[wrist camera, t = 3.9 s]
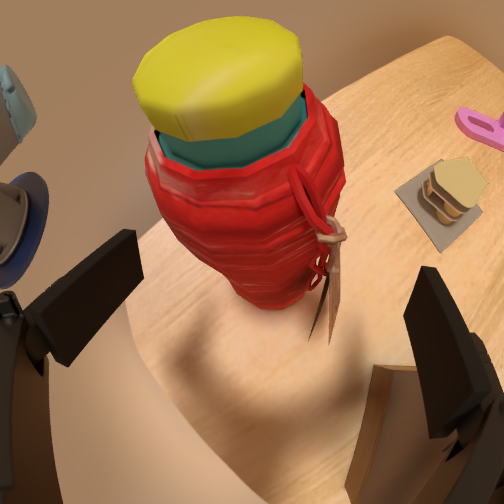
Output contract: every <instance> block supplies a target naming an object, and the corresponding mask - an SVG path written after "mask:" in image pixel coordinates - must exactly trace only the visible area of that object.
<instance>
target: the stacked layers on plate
mask: <svg viewBox="0 0 504 504" xmlns="http://www.w3.org/2000/svg"><path fill="white" fill-rule="evenodd" d="M488 184H489V183H488V181H487V180H486V179H485V177H484V176H483V175H482V173H481V172H480V171H479V170H478V168H477V167H476V166H475V165H474V163H473V162H472V161H471V160H470V159H469V157H463V158H458V159H452V160H447V161H443V160H442V159H440V160H439V161H438V162H436V163H435V164H433V165H432V166H430V167H429V168H427V169H426V170H424V171H423V172H421V173H420V174H419V175H417V176H416V177H414V178H413V179H411V180H410V181H408V182H407V183H405V184H404V185H402V186H401V187H399V188H398V189H396V190H395V193H396V194H397V195H398V196H399V197H400V199H401V200H402V201H403V202H404V204H405V205H406V206H407V208H408V209H409V210H410V212H411V213H412V214H413V215H414V217H415V218H416V219H417V221H418V222H419V223H420V225H421V226H422V228H423V229H424V230H425V232H426V233H427V235H428V236H429V237H430V239H431V240H432V242H433V243H434V245H435V246H436V248H437V249H438V251H439V252H440V253H441V252H442V251H444V250H445V249H446V248H447V247H448V246H449V245H450V244H451V243H452V242H453V241H454V240H455V239H457V238H458V237H459V236H460V235H461V234H462V233H463V232H464V231H465V230H466V229H467V228H468V227H469V226H470V225H471V224H472V223H473V222H474V221H475V220H476V219H477V218H478V217H479V216H480V215H481V214H482V213H483V211H482V210H481V209H480V207H479V206H478V204H477V202H478V200H479V198H480V197H481V195H482V194H483V192H484V191H485V189H486V187H487V186H488Z"/></svg>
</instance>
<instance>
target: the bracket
mask: <svg viewBox="0 0 504 504" xmlns="http://www.w3.org/2000/svg"><path fill="white" fill-rule="evenodd" d="M455 122H456V124H457V126H458V127H459V129H460V130H461V131H462V132H463V133H464V134H465V135H467V136H468V137H470V138H472V139H474V140H477V141H479V142H482V143H484V144H487V145H489V146H492V147H494V148H496V149H499V150H501V151H503V152H504V113H503V114H502V116H501V117H500V119H499V120H494V119H492V118H490V117H488V116H485V115H483V114H481V113H479V112H476V111H474V110H471V109H469V108H466V107H461V108H459V109H458V111H457V113H456V115H455ZM472 123H473V124H475V125H473V124H472ZM476 125H478V126H480V127H478V126H476ZM481 127H482V128H481ZM483 128H485V129H483ZM486 129H487V130H486Z"/></svg>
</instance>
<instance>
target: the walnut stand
mask: <svg viewBox="0 0 504 504" xmlns="http://www.w3.org/2000/svg"><path fill="white" fill-rule="evenodd" d="M456 437H458V434H457V429H455V430H454V431H453V432H452V433H451V434H450V435H449V436H448V437H446V438H437V439H429V434H428V426H427V420H426V413H425V407H424V402H423V396H422V391H421V386H420V381H419V376H418V371H417V367H416V366H391V365H374V367H373V373H372V379H371V384H370V390H369V395H368V400H367V405H366V409H365V414H364V418H363V422H362V426H361V431H360V434H359V438H358V442H357V446H356V449H355V453H354V457H353V460H352V463H351V467H350V470H349V473H348V476H347V479H346V482H345V488H346V491H347V493H348V496H349V499H350V502H351V504H411V503H412V502H413V501H414V499H415V498H416V497H417V495H418V494H419V493H420V491H421V490H422V489H423V487H424V486H425V485H426V483H427V482H428V480H429V479H430V477H431V476H432V475H433V473H434V472H435V470H436V469H437V467H438V465H439V464H440V462H441V461H442V459H443V458H444V456H445V454H446V453H447V451H448V450H446V451H445V452H444V453H443V452H442V450H443V449H444V448H445V447H446V446H447V445H449V444H450V443H451V442H452V441H453V440H454V439H455V438H456Z"/></svg>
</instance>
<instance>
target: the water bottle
mask: <svg viewBox="0 0 504 504" xmlns="http://www.w3.org/2000/svg"><path fill="white" fill-rule="evenodd" d="M132 86H133V88H134V91H135V93H136V96H137V98H138V101H139V103H140V105H141V107H142V109H143V110H144V112H145V114H146V115H147V117H148V118H149V120H150V122H151V123H152V126H151V129H150V133H149V144H148V148H147V152H146V156H145V173H146V176H147V179H148V182H149V185H150V187H151V190H152V192H153V195H154V198H155V200H156V203H157V205H158V208H159V211H160V213H161V215H162V217H163V218H164V220H165V221H166V223H167V224H168V226H169V227H170V229H171V230H172V232H173V233H174V235H175V236H176V238H177V239H178V240H179V241H180V242H181V243H182V244H183V245H184V246H185V247H186V248H187V249H188V250H189V251H190V252H191V253H192V254H193V255H195V256H196V257H197V258H198V259H199V260H201V261H202V262H204V263H206V264H207V265H209V266H210V267H212V268H214V269H215V270H217V271H219V272H220V273H222V274H223V275H224V276H225V277H226V278H227V279H228V280H229V282H230V283H231V285H232V287H233V288H234V290H235V291H236V293H237V294H238V295H240V296H241V297H242V298H244V299H246V300H247V301H249V302H251V303H252V304H254V305H256V306H257V307H259V308H262V309H283V308H285V307H287V306H289V305H290V304H292V303H294V302H296V301H297V300H299V299H301V298H302V297H303V295H304V294H305V292H306V290H307V289H308V291H312V290H313V289H314V288H315V287H316V286H317V285H318V284H319V282H320V281H321V280H322V275H323V276H326V280H325V284H324V288H323V291H322V295H321V299H320V302H319V306H318V310H317V313H316V317H315V320H314V323H313V327H312V330H311V334H312V331H313V329H314V326H315V324H316V321H317V319H318V316H319V313H320V311H321V308H322V306H323V303H324V300H325V298H326V294H327V290H328V287H329V343H330V339H331V335H332V331H333V327H334V323H335V319H336V315H337V311H338V307H339V303H340V245H341V242H342V241H345V240H346V239H347V235H346V232H345V229H344V228H343V227H341V226H340V224H339V222H338V221H337V219H336V218H334V215H335V212H336V208H337V205H338V201H339V198H340V192H341V190H342V188H343V187H344V185H345V183H346V179H345V173H344V168H343V167H344V159H343V152H342V146H341V140H340V134H339V128H338V123H337V121H336V120H335V119H334V118H333V117H332V116H331V115H330V113H329V111H328V110H327V108H326V107H325V106H324V105H323V104H322V103H321V102H320V101H319V100H318V99H317V98H316V97H315V96H314V94H313V92H312V90H311V89H310V88H308V86H306V85H305V84H304V83H303V62H302V52H301V49H300V43H299V39H298V37H297V36H296V35H295V34H293V33H292V32H290V31H288V30H287V29H285V28H284V27H282V26H280V25H279V24H277V23H275V22H274V21H272V20H268V19H261V18H254V17H246V16H233V17H225V18H218V19H211V20H206V21H202V22H199V23H197V24H194V25H192V26H189V27H187V28H184V29H182V30H180V31H177V32H175V33H173V34H170V35H169V36H168V37H166V38H165V39H164V40H163V41H161V42H160V43H159V44H158V45H156V46H155V47H154V48H153V49H151V50H150V51H149V52H148V53H146V54H145V56H144V58H143V60H142V62H141V64H140V65H139V67H138V69H137V71H136V74H135V75H134V77H133V80H132ZM328 254H329V259H328V262H326V259H327V257H328ZM320 255H321V256H320ZM319 256H320V259H319V263H318V266H317V265H316V259H317V258H318V257H319ZM323 268H324V269H323ZM316 274H317V275H318V279H317V280H316V281H315V282H314V283H313V285H312V286H311V282H312V280H313V278H314V277H315V275H316ZM311 334H310V336H311ZM309 338H310V337H309ZM308 341H309V340H308Z"/></svg>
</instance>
